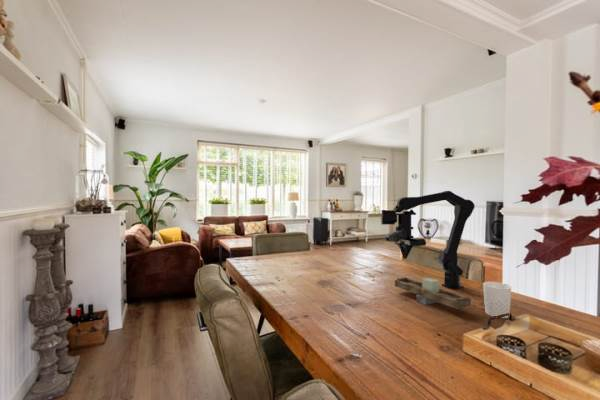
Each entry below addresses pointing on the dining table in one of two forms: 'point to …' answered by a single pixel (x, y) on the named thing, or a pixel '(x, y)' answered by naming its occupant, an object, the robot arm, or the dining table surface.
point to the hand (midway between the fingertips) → (405, 258)
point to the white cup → (497, 298)
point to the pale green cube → (430, 284)
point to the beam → (432, 294)
